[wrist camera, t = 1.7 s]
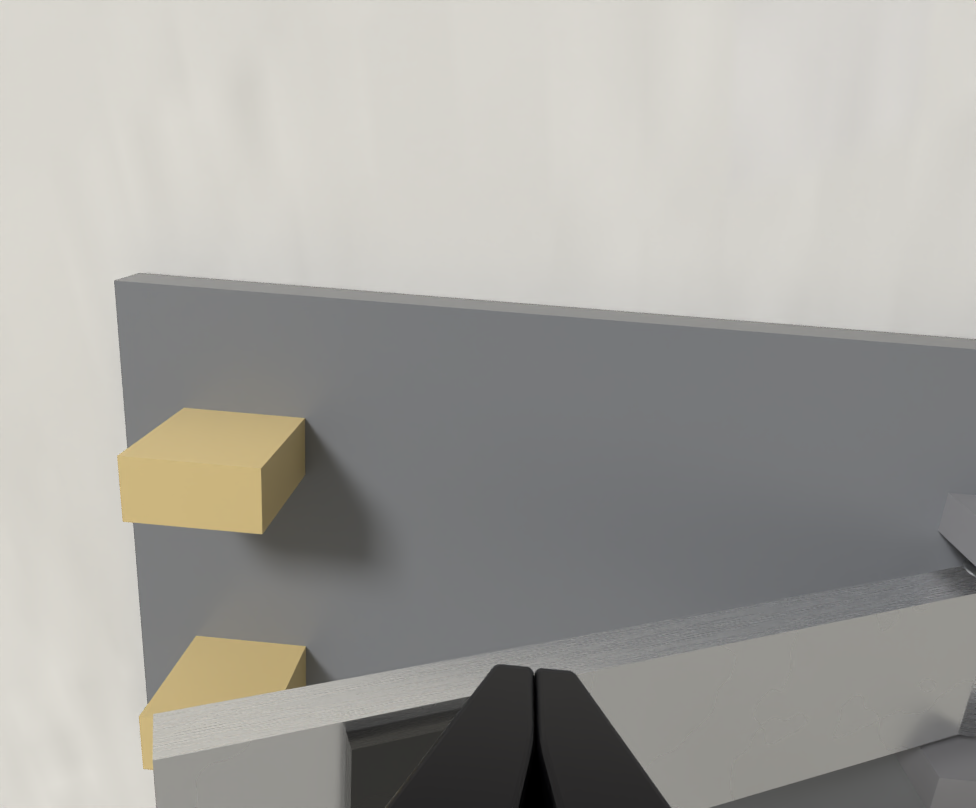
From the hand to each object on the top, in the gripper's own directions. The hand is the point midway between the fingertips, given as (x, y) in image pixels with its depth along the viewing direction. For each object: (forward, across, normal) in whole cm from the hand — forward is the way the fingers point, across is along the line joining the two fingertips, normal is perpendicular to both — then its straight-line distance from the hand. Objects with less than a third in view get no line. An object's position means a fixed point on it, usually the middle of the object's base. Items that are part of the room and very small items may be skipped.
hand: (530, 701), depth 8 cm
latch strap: (+10, -11, +5) cm, 16 cm away
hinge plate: (+12, -2, +5) cm, 13 cm away
